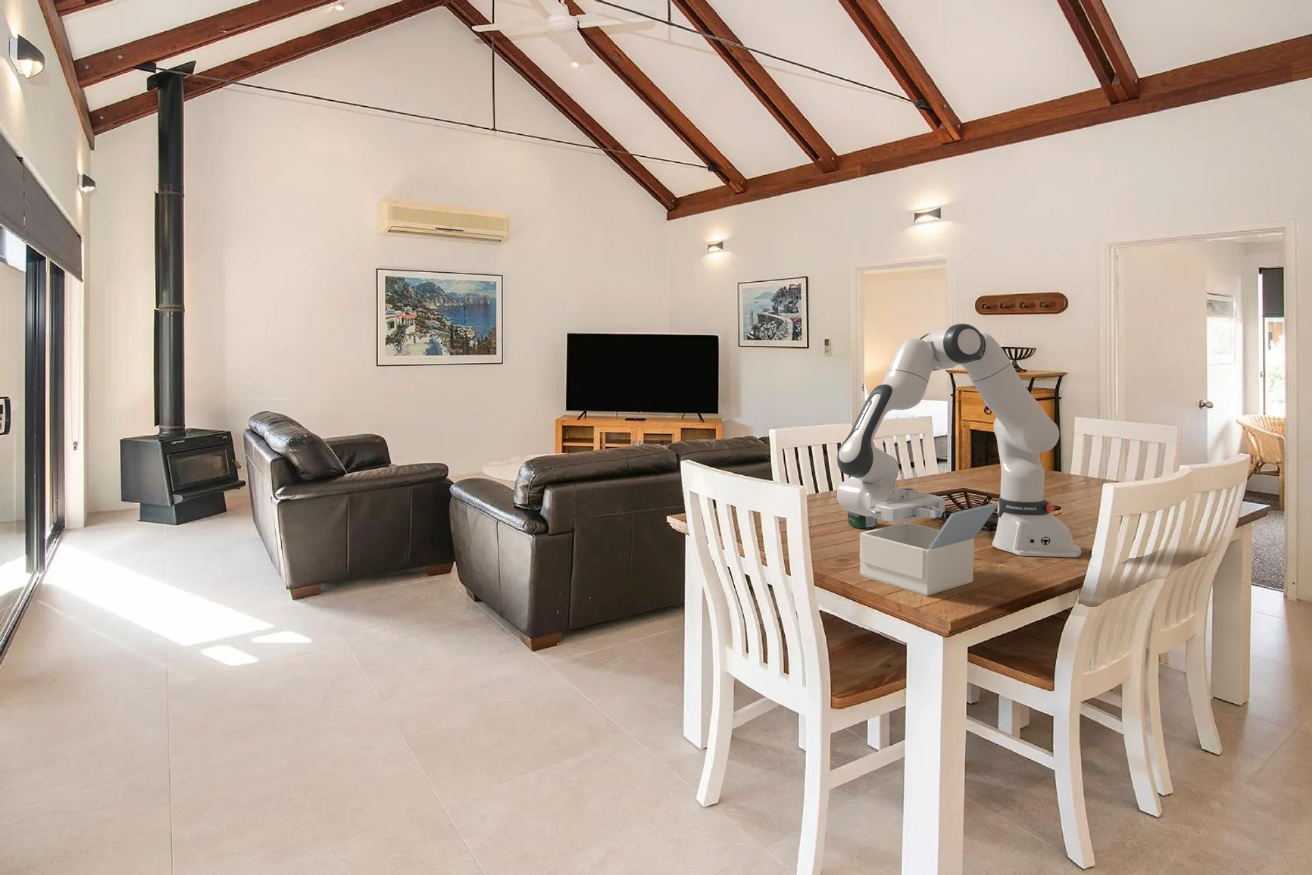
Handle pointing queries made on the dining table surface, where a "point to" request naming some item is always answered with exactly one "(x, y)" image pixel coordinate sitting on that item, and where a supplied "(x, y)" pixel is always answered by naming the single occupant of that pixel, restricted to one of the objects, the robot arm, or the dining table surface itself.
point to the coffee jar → (861, 520)
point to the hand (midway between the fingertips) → (938, 514)
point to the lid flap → (963, 525)
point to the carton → (915, 559)
